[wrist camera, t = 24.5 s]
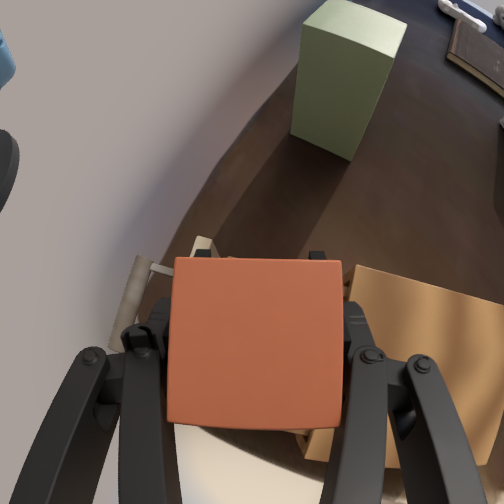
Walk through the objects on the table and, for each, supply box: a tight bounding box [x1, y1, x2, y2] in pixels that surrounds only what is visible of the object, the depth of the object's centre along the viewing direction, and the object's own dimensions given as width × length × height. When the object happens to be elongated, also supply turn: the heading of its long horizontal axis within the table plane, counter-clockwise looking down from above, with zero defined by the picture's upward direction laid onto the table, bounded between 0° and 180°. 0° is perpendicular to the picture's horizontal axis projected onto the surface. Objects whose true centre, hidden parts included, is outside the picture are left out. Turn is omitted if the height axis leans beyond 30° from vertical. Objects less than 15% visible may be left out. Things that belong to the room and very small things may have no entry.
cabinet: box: [294, 265, 504, 468], centre depth 23 cm, size 17×14×10 cm
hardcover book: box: [446, 19, 504, 100], centre depth 42 cm, size 16×23×2 cm
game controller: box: [438, 0, 487, 33], centre depth 46 cm, size 14×4×10 cm
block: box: [167, 257, 343, 430], centre depth 13 cm, size 5×5×10 cm
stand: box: [290, 0, 407, 161], centre depth 28 cm, size 8×8×16 cm
